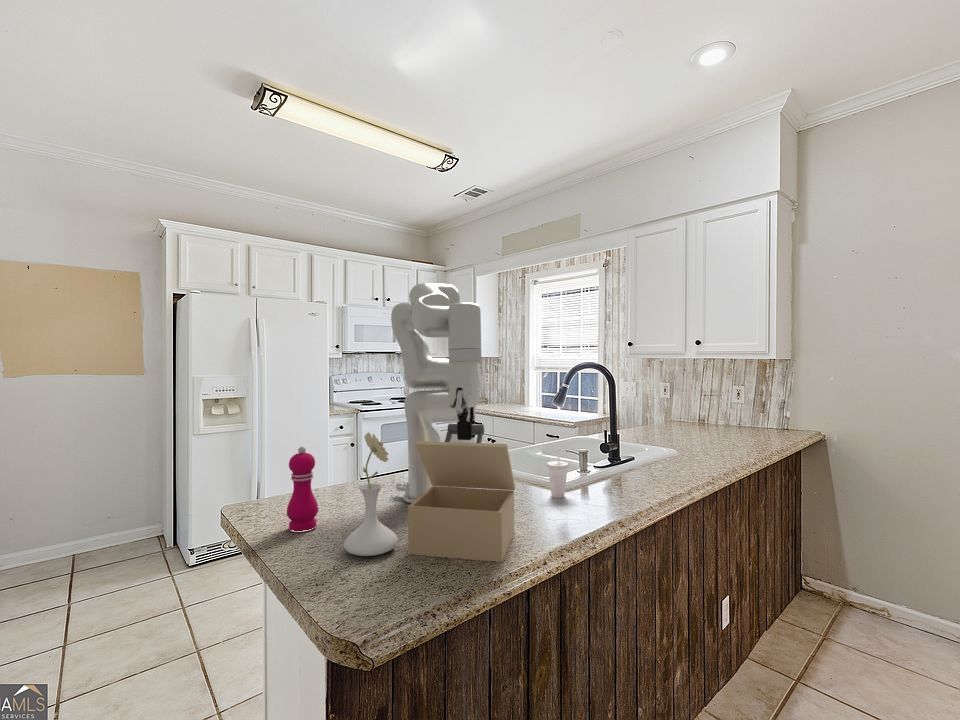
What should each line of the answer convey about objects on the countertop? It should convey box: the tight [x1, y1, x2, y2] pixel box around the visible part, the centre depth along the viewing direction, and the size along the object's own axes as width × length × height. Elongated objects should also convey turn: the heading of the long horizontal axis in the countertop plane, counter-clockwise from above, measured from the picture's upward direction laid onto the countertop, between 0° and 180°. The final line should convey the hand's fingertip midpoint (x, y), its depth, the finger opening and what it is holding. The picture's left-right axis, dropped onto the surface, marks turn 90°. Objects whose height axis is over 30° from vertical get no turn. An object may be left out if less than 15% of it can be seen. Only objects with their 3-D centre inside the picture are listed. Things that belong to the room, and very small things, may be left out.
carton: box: [407, 486, 515, 563], centre depth 104 cm, size 20×16×10 cm
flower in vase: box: [343, 431, 399, 557], centre depth 102 cm, size 13×11×25 cm
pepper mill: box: [286, 446, 319, 531], centre depth 114 cm, size 7×7×20 cm
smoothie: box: [546, 447, 569, 499], centre depth 139 cm, size 6×6×14 cm
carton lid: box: [416, 423, 516, 491], centre depth 109 cm, size 20×16×7 cm
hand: (466, 437), depth 107 cm, fingers closed on carton lid, 2 cm apart
